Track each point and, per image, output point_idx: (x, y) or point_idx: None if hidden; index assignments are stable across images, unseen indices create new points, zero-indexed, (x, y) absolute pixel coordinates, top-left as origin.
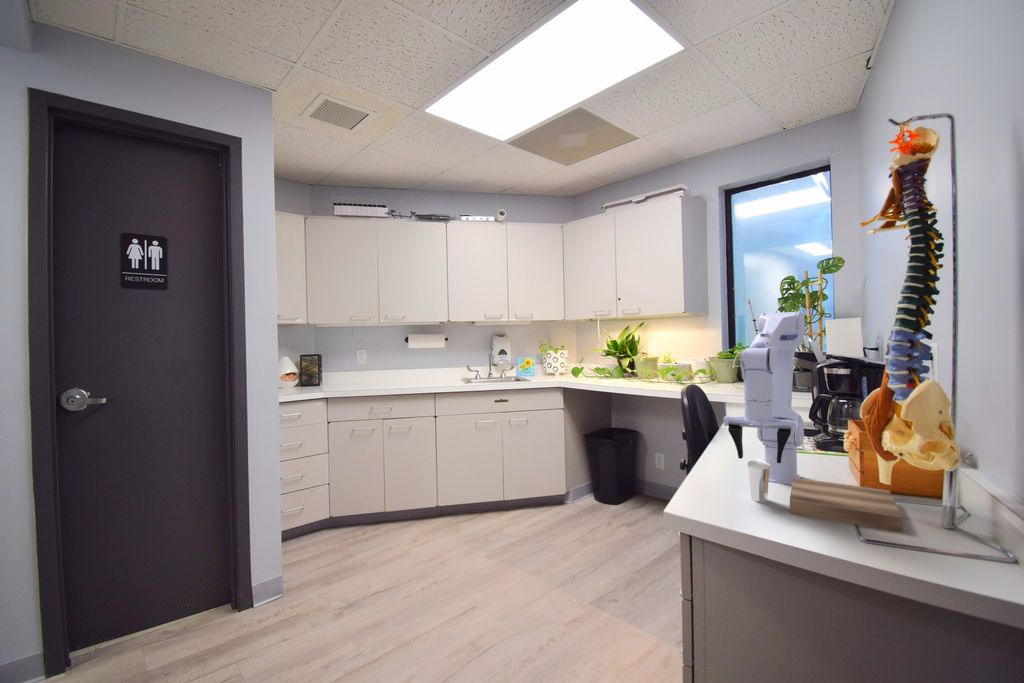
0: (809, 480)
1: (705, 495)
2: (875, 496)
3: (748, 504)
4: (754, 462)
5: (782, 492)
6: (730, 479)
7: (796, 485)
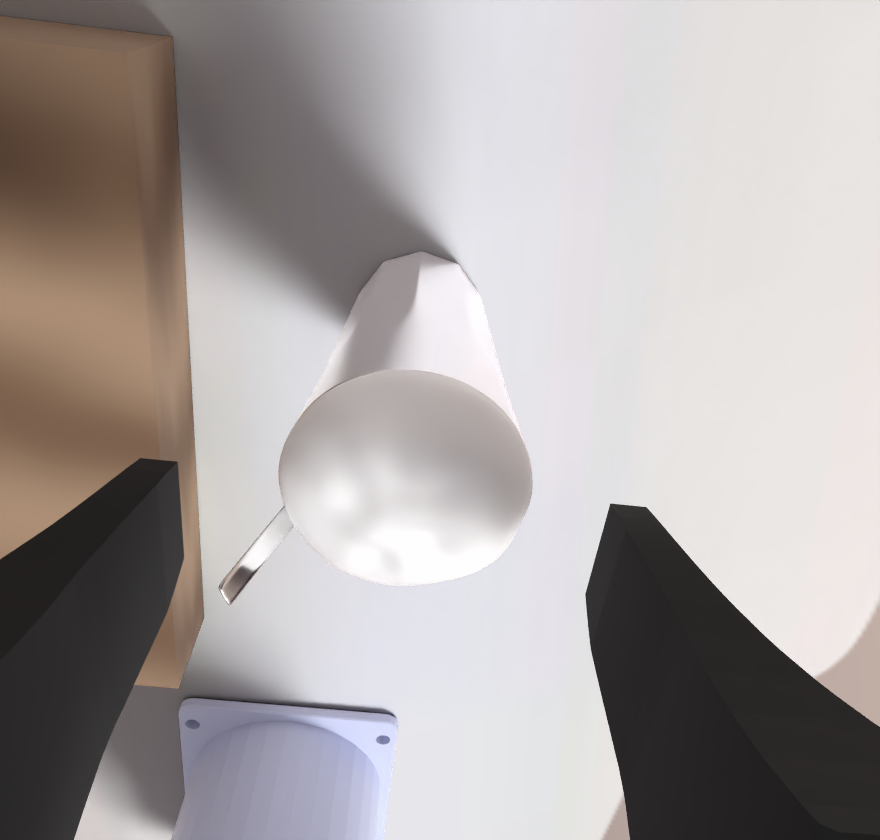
0: None
1: (856, 257)
2: None
3: (508, 166)
4: (454, 450)
5: None
6: None
7: None
